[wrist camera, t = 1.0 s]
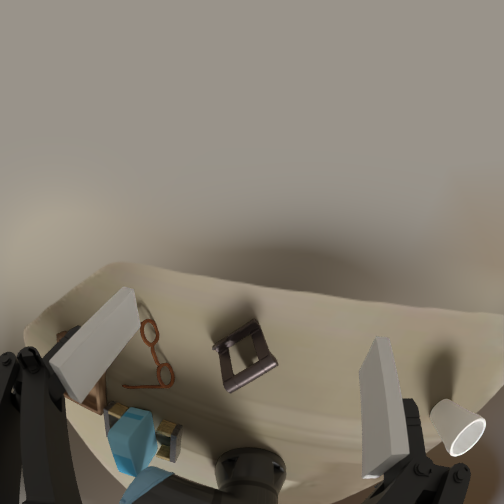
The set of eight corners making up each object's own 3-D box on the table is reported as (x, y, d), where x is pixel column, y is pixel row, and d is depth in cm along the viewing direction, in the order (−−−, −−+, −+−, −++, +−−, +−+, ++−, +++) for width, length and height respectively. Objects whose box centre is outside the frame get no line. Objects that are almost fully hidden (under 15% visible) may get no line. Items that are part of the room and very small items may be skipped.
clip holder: (180, 452, 47) (175, 462, 43) (114, 428, 48) (106, 436, 44) (182, 425, 46) (176, 436, 42) (112, 400, 47) (103, 408, 43)
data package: (132, 404, 47) (105, 433, 35) (151, 408, 47) (127, 440, 35) (140, 444, 47) (119, 474, 35) (158, 448, 47) (139, 481, 35)
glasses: (177, 380, 47) (169, 392, 42) (123, 385, 48) (112, 396, 43) (154, 315, 47) (143, 322, 42) (101, 327, 48) (87, 333, 43)
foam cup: (448, 385, 43) (479, 411, 30) (461, 403, 42) (489, 427, 29) (417, 417, 43) (443, 448, 30) (433, 432, 43) (457, 461, 30)
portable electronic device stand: (255, 316, 45) (251, 330, 37) (282, 351, 45) (284, 372, 37) (213, 343, 46) (202, 362, 38) (240, 377, 46) (235, 400, 37)
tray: (107, 409, 48) (101, 415, 45) (68, 390, 48) (62, 395, 45) (105, 348, 47) (97, 352, 44) (64, 330, 48) (56, 334, 45)
